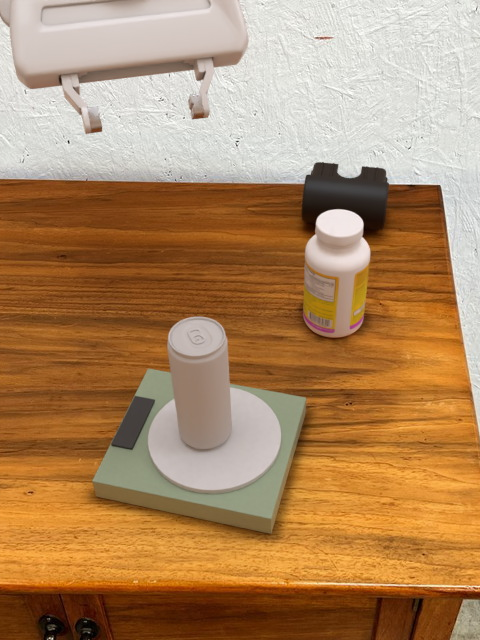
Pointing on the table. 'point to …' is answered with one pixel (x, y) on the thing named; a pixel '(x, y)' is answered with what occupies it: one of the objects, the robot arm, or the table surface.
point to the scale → (204, 457)
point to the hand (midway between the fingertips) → (148, 124)
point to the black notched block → (346, 194)
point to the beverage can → (200, 381)
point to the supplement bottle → (336, 274)
